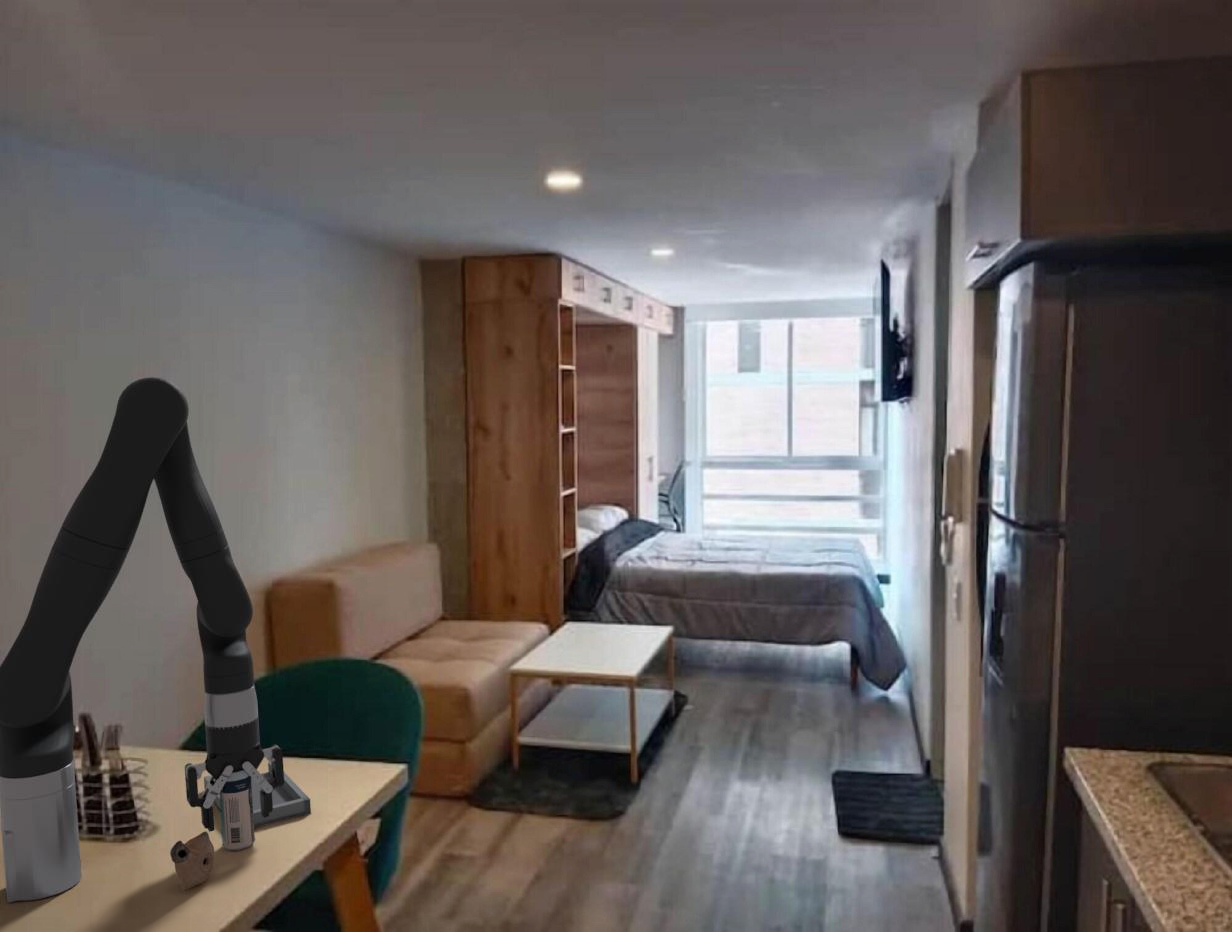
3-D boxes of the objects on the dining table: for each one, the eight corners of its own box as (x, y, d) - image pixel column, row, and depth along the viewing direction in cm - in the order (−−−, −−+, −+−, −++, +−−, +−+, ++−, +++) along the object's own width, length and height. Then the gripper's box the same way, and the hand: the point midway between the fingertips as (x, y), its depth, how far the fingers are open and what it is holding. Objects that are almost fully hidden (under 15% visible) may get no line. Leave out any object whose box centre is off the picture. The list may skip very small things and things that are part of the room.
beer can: (262, 842, 151) (257, 766, 150) (235, 855, 147) (230, 776, 146) (242, 836, 154) (237, 760, 153) (215, 848, 150) (210, 771, 149)
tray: (234, 833, 155) (233, 818, 155) (204, 790, 173) (203, 776, 173) (310, 813, 162) (310, 799, 161) (274, 773, 180) (273, 761, 180)
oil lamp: (188, 904, 133) (185, 846, 132) (160, 903, 133) (157, 846, 133) (223, 872, 142) (219, 818, 141) (196, 872, 142) (193, 818, 142)
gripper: (185, 734, 142) (193, 844, 143) (286, 713, 150) (293, 818, 151) (176, 721, 148) (183, 827, 149) (273, 701, 156) (279, 802, 157)
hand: (238, 822), depth 150 cm, fingers open, 7 cm apart
